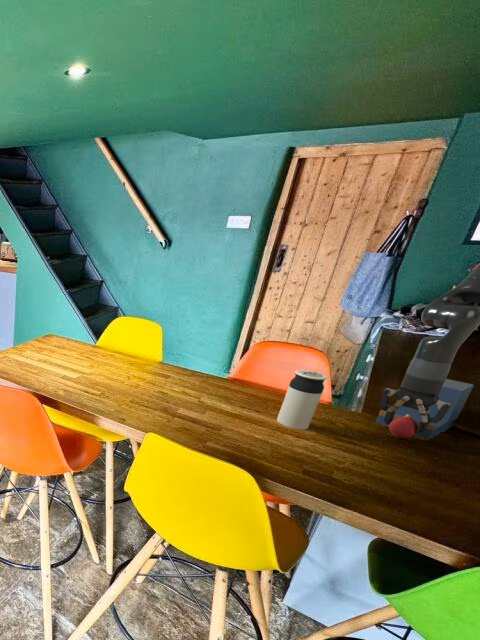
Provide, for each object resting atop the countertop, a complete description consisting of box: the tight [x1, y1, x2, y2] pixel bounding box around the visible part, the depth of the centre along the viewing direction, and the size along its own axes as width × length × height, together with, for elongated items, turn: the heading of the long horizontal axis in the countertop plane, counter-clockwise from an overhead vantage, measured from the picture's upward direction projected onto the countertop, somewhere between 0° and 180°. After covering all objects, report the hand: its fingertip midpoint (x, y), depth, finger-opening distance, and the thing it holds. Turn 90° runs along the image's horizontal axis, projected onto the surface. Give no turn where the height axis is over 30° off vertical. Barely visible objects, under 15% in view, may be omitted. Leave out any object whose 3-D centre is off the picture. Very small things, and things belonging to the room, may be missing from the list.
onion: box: [388, 414, 418, 439], centre depth 118 cm, size 6×6×8 cm
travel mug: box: [276, 369, 328, 430], centre depth 123 cm, size 8×8×18 cm
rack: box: [375, 378, 475, 439], centre depth 124 cm, size 22×12×14 cm, turn 118°
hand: (402, 427), depth 118 cm, fingers closed on onion, 6 cm apart
